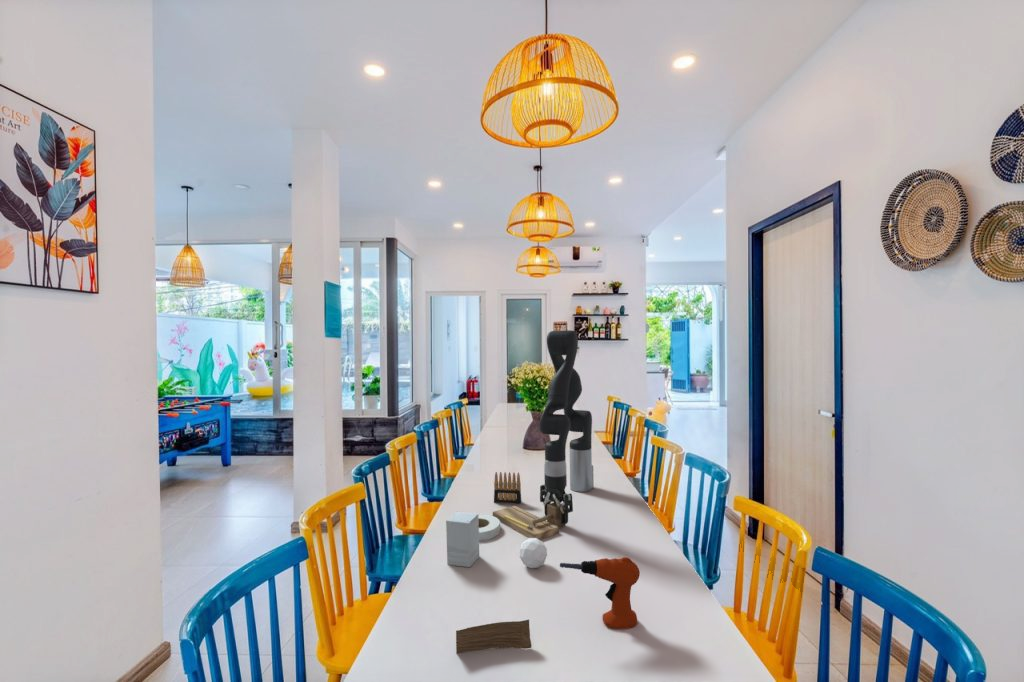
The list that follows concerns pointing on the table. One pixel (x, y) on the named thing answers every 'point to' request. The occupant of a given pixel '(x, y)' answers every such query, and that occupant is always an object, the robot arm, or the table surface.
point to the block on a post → (551, 516)
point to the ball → (533, 553)
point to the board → (525, 517)
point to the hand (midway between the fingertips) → (556, 519)
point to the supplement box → (462, 539)
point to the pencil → (518, 522)
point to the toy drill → (614, 587)
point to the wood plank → (494, 636)
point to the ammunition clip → (506, 494)
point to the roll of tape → (488, 526)
